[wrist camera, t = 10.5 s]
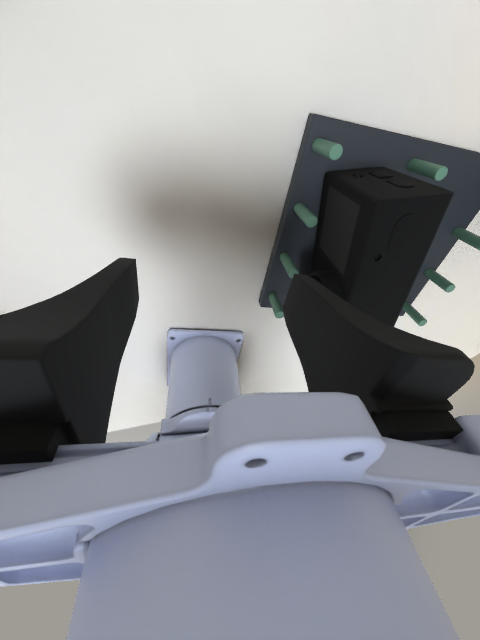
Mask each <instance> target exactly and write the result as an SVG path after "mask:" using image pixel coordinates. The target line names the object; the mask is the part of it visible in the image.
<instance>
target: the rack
mask: <svg viewBox="0 0 480 640" xmlns="http://www.w3.org/2000/svg"><path fill="white" fill-rule="evenodd" d="M372 167H386V168H389V169H391V170H394V171H397V172H400V173H403V174H405V175H408V176H411V177H414V178H417V179H419V180H422V181H425V182H428V183H431V184H433V185H436V186H439V187H442V188H445V189H447V190H449V191H451V192H454V195H453V197H452V199H451V201H450V204H449V206H448V208H447V210H446V213H445V215H444V217H443V219H442V222H441V224H440V226H439V228H438V230H437V233H436V235H435V237H434V239H433V242H432V244H431V246H430V248H429V251H428V253H427V255H426V257H425V260H424V262H423V264H422V266H421V268H420V271H419V273H418V275H417V277H416V279H415V282H414V284H413V286H412V288H411V290H410V293H409V295H408V297H407V299H406V301H405V303H404V306H403V308H402V310H401V312H400V314H399V316H403V315H404V314H405V312H406V313H407V314H408V315H409V316H410V317H411V318H412V319H413V320H414V321H415V322H416V323H417V324H418V325H419V326H423V325H425V324H426V323H427V320H426V319H425V318H424V317H423V316H422V315H421V314H420V313H419V312H418V311H417V310H415V309H414V308H413V307H412V306H411V304H412V302H413V301H414V300H415V298H416V297H417V296H418V294H419V293H420V291H421V290H422V289H423V287H424V286H425V284H426V283H427V282H428V280H429V279H430V280H431V281H433V282H434V283H435V284H437V285H438V286H439V287H440V288H442V289H443V290H444V291H446V292H451V291H453V290H454V288H455V285H454V284H452V283H451V282H450V281H448V280H447V279H445V278H444V277H443V276H441V275H440V274H438V273H437V272H436V269H437V268H438V267H439V265H440V264H441V262H442V261H443V260H444V258H445V257H446V255H447V254H448V253H449V251H450V250H451V249H452V247H453V246H454V244H455V243H456V242H457V240H458V239H460V240H461V241H463V242H465V243H467V244H469V245H471V246H473V247H474V248H476V249H478V250H480V237H479V236H477V235H475V234H473V233H471V232H469V231H467V230H465V229H466V228H467V226H468V225H469V224H470V222H471V221H472V220H473V218H474V217H475V215H476V214H477V213H478V211H479V210H480V153H479V152H474V151H470V150H466V149H462V148H457V147H453V146H449V145H445V144H440V143H436V142H432V141H428V140H423V139H419V138H415V137H411V136H406V135H402V134H398V133H394V132H389V131H385V130H381V129H376V128H372V127H368V126H364V125H359V124H355V123H351V122H347V121H342V120H338V119H334V118H330V117H325V116H321V115H317V114H311V113H310V114H309V117H308V121H307V124H306V128H305V132H304V135H303V139H302V143H301V147H300V150H299V154H298V158H297V162H296V165H295V169H294V173H293V176H292V180H291V184H290V188H289V191H288V195H287V199H286V202H285V206H284V210H283V214H282V217H281V221H280V225H279V228H278V232H277V236H276V240H275V243H274V247H273V251H272V255H271V258H270V262H269V266H268V269H267V273H266V277H265V281H264V284H263V288H262V292H261V295H260V299H259V303H260V306H261V307H269V308H273V311H274V314H275V316H276V318H282V317H283V316H284V313H283V309H282V308H283V305H284V302H285V299H286V296H287V293H288V290H289V287H290V284H291V282H292V279H293V276H294V274H302V275H307V276H309V274H310V273H311V266H312V259H313V252H314V246H315V239H316V232H317V225H318V219H319V212H320V205H321V198H322V192H323V185H324V178H325V174H326V172H328V171H337V170H349V169H360V168H372Z"/></svg>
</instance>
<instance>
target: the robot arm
mask: <svg viewBox="0 0 480 640" xmlns="http://www.w3.org/2000/svg"><path fill="white" fill-rule="evenodd" d="M138 302H139V293H138V281H137V269H136V259H130V258H119V259H117V260H116V261H114V262H113V263H111V264H110V265H108V266H107V267H105V268H104V269H102V270H101V271H99V272H98V273H96V274H95V275H93V276H92V277H90V278H88V279H87V280H85V281H83V282H82V283H80V284H78V285H76V286H75V287H73V288H71V289H69V290H67V291H65V292H63V293H61V294H59V295H56V296H54V297H52V298H50V299H47V300H45V301H42V302H39V303H36V304H34V305H31V306H28V307H25V308H23V309H20V310H17V311H13V312H10V313H7V314H3V315H0V587H2V586H12V585H23V584H35V583H46V582H57V581H68V580H80V583H79V587H78V591H77V596H76V600H75V604H74V608H73V612H72V617H71V621H70V625H69V629H68V633H67V637H66V640H460V638H459V636H458V634H457V632H456V630H455V628H454V626H453V624H452V622H451V620H450V618H449V616H448V614H447V612H446V610H445V607H444V605H443V603H442V601H441V599H440V597H439V596H438V593H437V591H436V589H435V587H434V585H433V583H432V581H431V579H430V577H429V575H428V573H427V571H426V569H425V567H424V565H423V563H422V560H421V558H420V556H419V554H418V552H417V550H416V548H415V546H414V544H413V542H412V540H411V538H410V536H409V534H408V532H407V530H406V529H409V528H414V527H419V526H423V525H429V524H434V523H439V522H444V521H449V520H455V519H461V518H466V517H472V516H479V515H480V415H465V416H460V417H457V418H455V419H454V418H453V416H452V415H451V414H450V412H448V411H451V410H452V409H453V406H452V405H451V403H450V402H449V401H448V400H447V399H448V398H449V397H450V396H452V394H454V393H455V392H456V391H457V390H458V389H460V388H461V387H462V386H463V385H464V384H465V383H466V382H467V381H468V380H469V379H470V377H471V376H472V374H473V372H474V363H473V362H472V361H471V360H470V359H469V358H468V357H467V356H466V355H465V354H464V353H463V352H462V351H461V350H459V349H457V348H454V347H451V346H447V345H444V344H440V343H437V342H434V341H430V340H427V339H424V338H421V337H419V336H416V335H413V334H410V333H408V332H405V331H402V330H400V329H397V328H395V327H393V326H391V325H388V324H386V323H384V322H382V321H380V320H378V319H376V318H374V317H372V316H370V315H368V314H366V313H364V312H362V311H361V310H359V309H357V308H356V307H354V306H352V305H351V304H349V303H348V302H346V301H345V300H343V299H342V298H340V297H339V296H337V295H336V294H334V293H333V292H331V291H330V290H329V289H327V288H326V287H324V286H323V285H321V284H320V283H319V282H317V281H316V280H314V279H313V278H311V277H309V276H307V275H302V274H294V276H293V279H292V282H291V284H290V287H289V290H288V293H287V296H286V299H285V302H284V305H283V313H284V318H285V322H286V325H287V328H288V331H289V333H290V336H291V338H292V341H293V343H294V346H295V348H296V351H297V354H298V356H299V359H300V361H301V364H302V367H303V371H304V374H305V378H306V382H307V386H308V390H309V392H298V393H253V394H247V395H241V388H240V382H239V376H238V369H237V361H238V357H239V353H240V349H241V345H242V341H243V337H244V336H243V333H242V332H233V331H208V330H183V329H170V330H169V331H168V334H167V385H168V397H167V408H166V419H163V420H162V422H161V432H160V433H152V434H151V435H150V437H149V438H148V439H147V440H146V441H141V442H121V443H105V441H106V434H107V429H108V423H109V417H110V412H111V406H112V401H113V396H114V391H115V385H116V381H117V376H118V371H119V366H120V363H121V359H122V356H123V353H124V350H125V347H126V344H127V341H128V338H129V336H130V333H131V330H132V327H133V324H134V321H135V318H136V313H137V307H138ZM172 337H174V338H172ZM237 339H239V340H237Z"/></svg>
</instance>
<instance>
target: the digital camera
mask: <svg viewBox="0 0 480 640" xmlns="http://www.w3.org/2000/svg"><path fill="white" fill-rule="evenodd" d="M453 195H454V192H451V191H449V190H447V189H445V188H442V187H439V186H436V185H433V184H431V183H428V182H425V181H422V180H419V179H417V178H414V177H411V176H408V175H405V174H403V173H400V172H397V171H394V170H391V169H389V168H386V167H372V168H360V169H349V170H337V171H328V172H326V174H325V178H324V185H323V192H322V198H321V205H320V212H319V219H318V225H317V232H316V239H315V246H314V252H313V259H312V266H311V273H310V274H309V277H311V278H313V279H314V280H316V281H317V282H319V283H320V284H321V285H323V286H324V287H326V288H327V289H329V290H330V291H331V292H333V293H334V294H336V295H337V296H339V297H340V298H342V299H343V300H345V301H346V302H348V303H349V304H351V305H352V306H354V307H356V308H357V309H359V310H361V311H362V312H364V313H366V314H368V315H370V316H372V317H374V318H376V319H378V320H380V321H382V322H384V323H386V324H388V325H391V326H393V327H394V325H395V323H396V321H397V319H398V317H399V314H400V312H401V310H402V308H403V306H404V303H405V301H406V299H407V297H408V295H409V293H410V290H411V288H412V286H413V284H414V282H415V279H416V277H417V275H418V273H419V271H420V268H421V266H422V264H423V262H424V260H425V257H426V255H427V253H428V251H429V248H430V246H431V244H432V242H433V239H434V237H435V235H436V233H437V230H438V228H439V226H440V224H441V222H442V219H443V217H444V215H445V213H446V210H447V208H448V206H449V204H450V201H451V199H452V197H453Z"/></svg>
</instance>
